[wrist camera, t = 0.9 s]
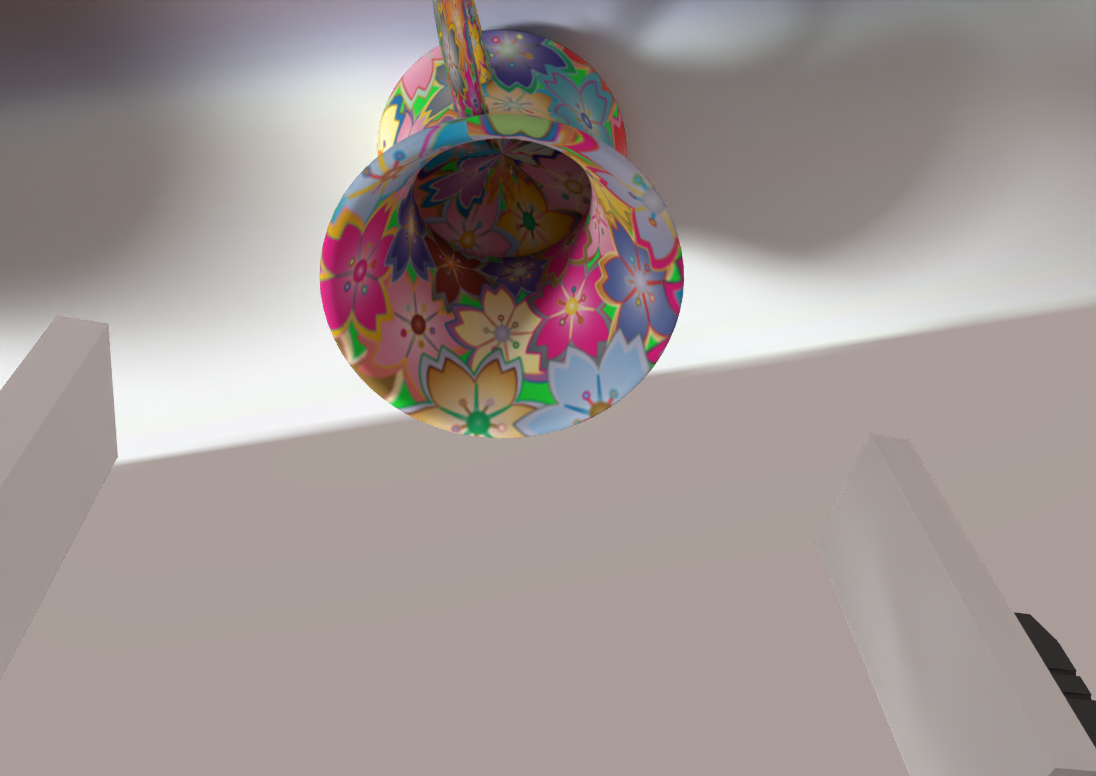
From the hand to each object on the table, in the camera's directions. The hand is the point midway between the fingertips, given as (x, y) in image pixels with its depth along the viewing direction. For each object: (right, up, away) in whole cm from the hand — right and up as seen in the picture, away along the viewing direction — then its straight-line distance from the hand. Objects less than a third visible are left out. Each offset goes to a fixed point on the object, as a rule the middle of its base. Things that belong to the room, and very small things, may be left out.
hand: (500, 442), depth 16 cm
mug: (-1, +11, +15) cm, 19 cm away
